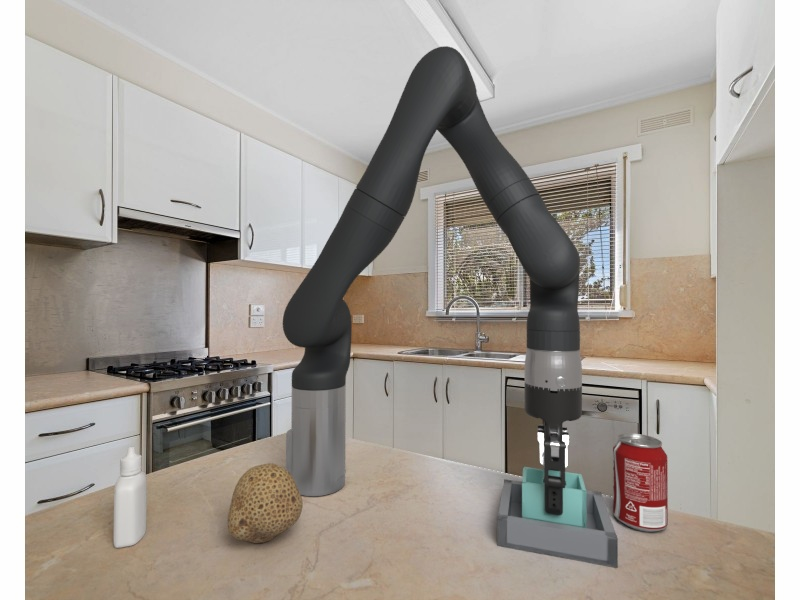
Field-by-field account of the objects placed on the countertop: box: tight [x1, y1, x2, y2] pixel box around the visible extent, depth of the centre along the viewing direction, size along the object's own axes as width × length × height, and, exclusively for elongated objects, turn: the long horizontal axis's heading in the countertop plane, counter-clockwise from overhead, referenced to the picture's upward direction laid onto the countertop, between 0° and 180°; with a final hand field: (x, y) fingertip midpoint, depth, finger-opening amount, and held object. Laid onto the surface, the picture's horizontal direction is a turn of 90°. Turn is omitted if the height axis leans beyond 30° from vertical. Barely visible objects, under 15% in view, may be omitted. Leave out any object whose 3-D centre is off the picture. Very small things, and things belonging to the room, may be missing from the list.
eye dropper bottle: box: [113, 446, 148, 549], centre depth 55 cm, size 4×6×12 cm
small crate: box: [522, 466, 587, 528], centre depth 57 cm, size 8×6×5 cm
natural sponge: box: [227, 462, 303, 544], centre depth 54 cm, size 9×9×10 cm
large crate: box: [497, 478, 619, 569], centre depth 57 cm, size 14×13×4 cm
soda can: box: [612, 432, 669, 533], centre depth 59 cm, size 7×7×12 cm
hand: (552, 500), depth 57 cm, fingers open, 6 cm apart
